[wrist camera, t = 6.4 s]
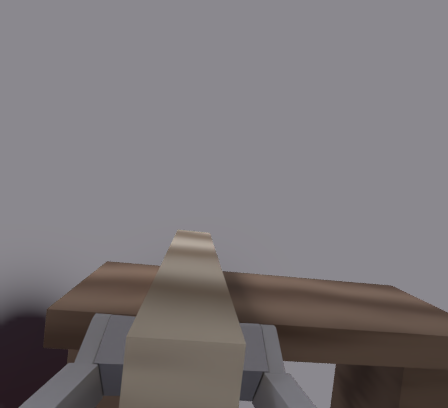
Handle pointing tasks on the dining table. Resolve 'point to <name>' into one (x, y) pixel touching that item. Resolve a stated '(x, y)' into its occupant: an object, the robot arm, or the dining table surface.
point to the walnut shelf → (297, 330)
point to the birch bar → (185, 334)
